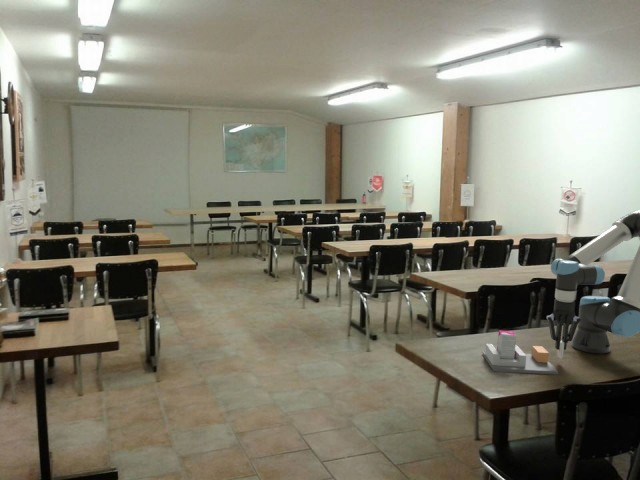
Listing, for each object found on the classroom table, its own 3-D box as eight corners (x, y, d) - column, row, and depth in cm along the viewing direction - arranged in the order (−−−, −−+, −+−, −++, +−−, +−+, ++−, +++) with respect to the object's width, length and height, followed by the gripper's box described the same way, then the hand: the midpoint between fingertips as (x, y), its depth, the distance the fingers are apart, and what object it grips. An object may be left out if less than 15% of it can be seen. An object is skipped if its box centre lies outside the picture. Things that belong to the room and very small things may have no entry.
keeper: (541, 355, 222) (542, 346, 222) (547, 362, 214) (548, 352, 214) (531, 355, 222) (532, 345, 222) (537, 362, 215) (538, 352, 214)
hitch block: (541, 357, 225) (542, 343, 224) (558, 374, 206) (559, 360, 205) (482, 354, 226) (483, 341, 226) (493, 371, 208) (494, 356, 207)
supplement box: (514, 363, 213) (516, 335, 212) (499, 362, 214) (501, 334, 212) (510, 358, 219) (513, 330, 218) (495, 357, 220) (497, 329, 218)
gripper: (578, 298, 218) (572, 354, 221) (544, 296, 219) (540, 353, 222) (585, 303, 210) (580, 361, 213) (551, 301, 211) (546, 359, 214)
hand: (559, 357), depth 218 cm, fingers closed
